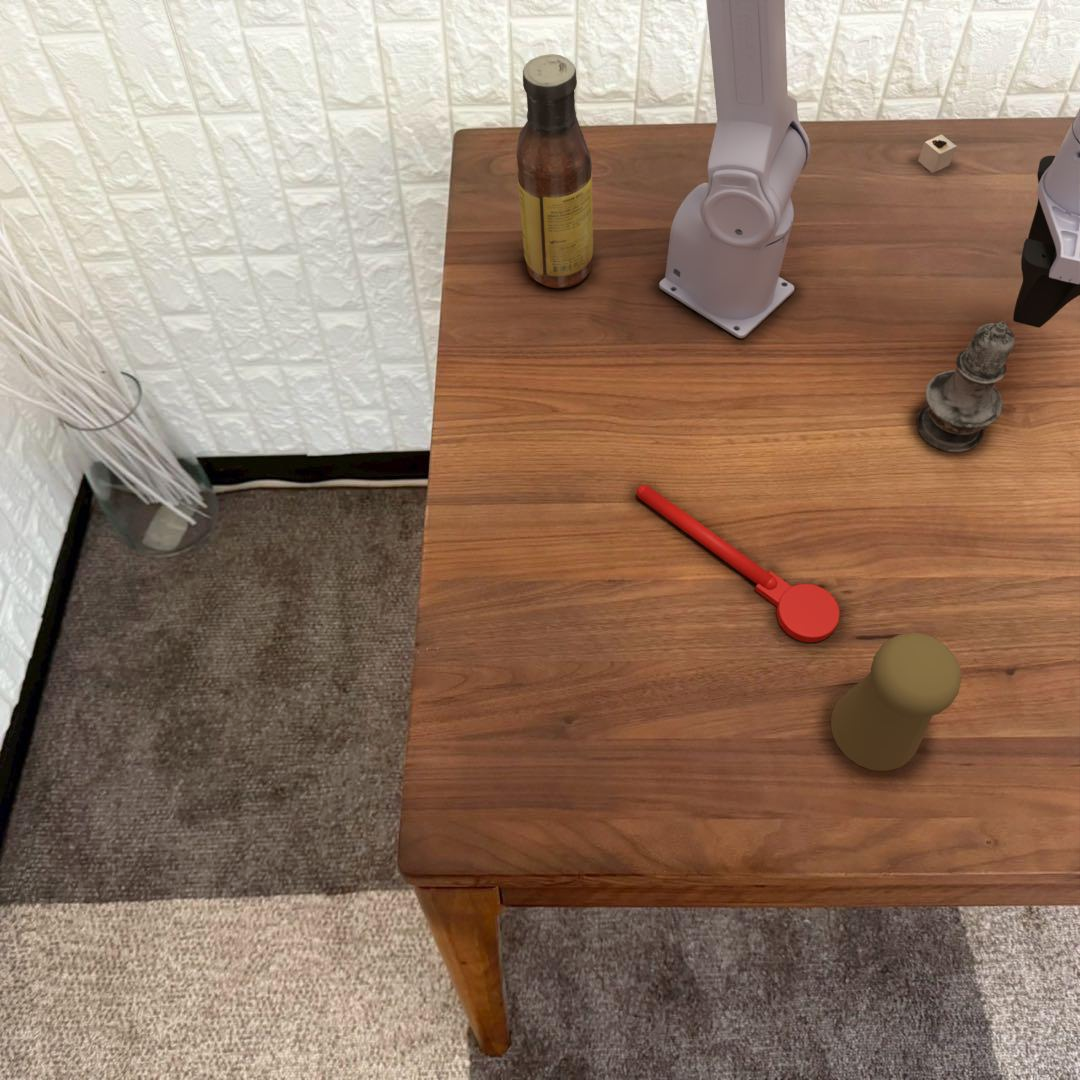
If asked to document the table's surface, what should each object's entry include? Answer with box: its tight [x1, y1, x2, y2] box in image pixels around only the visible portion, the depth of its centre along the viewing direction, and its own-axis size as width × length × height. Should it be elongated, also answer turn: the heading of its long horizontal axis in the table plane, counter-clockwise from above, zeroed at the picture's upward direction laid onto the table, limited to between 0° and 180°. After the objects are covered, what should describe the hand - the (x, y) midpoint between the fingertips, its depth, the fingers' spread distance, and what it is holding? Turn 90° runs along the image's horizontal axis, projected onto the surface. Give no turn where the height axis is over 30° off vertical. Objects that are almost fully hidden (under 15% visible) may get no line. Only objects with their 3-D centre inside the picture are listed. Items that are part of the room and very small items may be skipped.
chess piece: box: [916, 320, 1016, 453], centre depth 78 cm, size 6×6×12 cm
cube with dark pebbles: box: [917, 133, 957, 174], centre depth 98 cm, size 2×2×2 cm
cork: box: [830, 632, 963, 772], centre depth 65 cm, size 6×6×11 cm
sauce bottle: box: [515, 53, 594, 289], centre depth 84 cm, size 6×6×20 cm
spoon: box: [636, 484, 840, 643], centre depth 76 cm, size 18×4×1 cm, turn 47°
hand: (1033, 286), depth 78 cm, fingers open, 7 cm apart
